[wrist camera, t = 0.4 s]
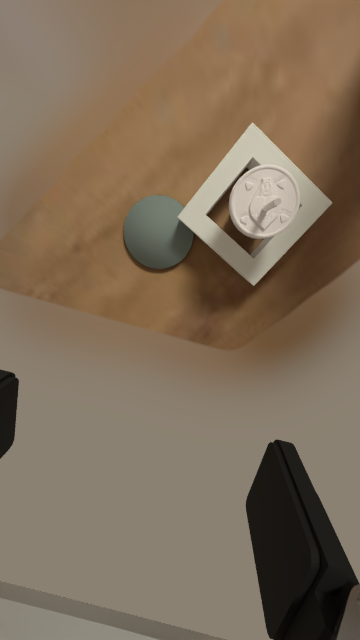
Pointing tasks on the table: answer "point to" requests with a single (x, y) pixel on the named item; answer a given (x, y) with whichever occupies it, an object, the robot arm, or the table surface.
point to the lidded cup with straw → (264, 201)
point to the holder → (243, 154)
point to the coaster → (157, 232)
